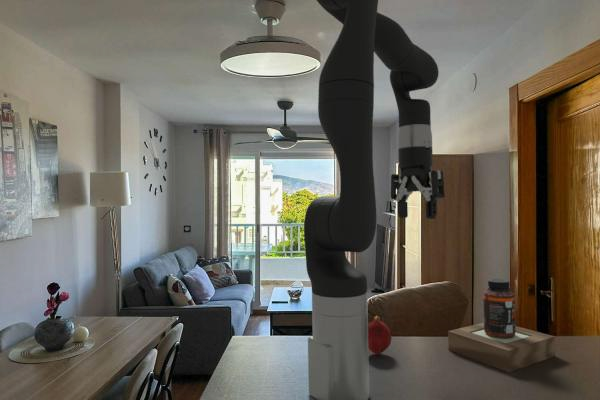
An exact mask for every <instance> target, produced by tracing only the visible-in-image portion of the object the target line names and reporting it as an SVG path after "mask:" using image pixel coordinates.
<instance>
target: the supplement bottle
mask: <svg viewBox="0 0 600 400" xmlns="http://www.w3.org/2000/svg"><path fill="white" fill-rule="evenodd" d="M487 286H488V288H487V289H485V290H483V298H482V300H483V323H484V331H485V333H486V334H488V335H490V336H493V337H498V338H511V337H513V336H515V331H516V329H515V328H516V327H515V326H517V325H516V295H515V293H514V292H513V291H512V290H511V288H510V281H509V280H507V279H502V278H489V279H488V280H487Z"/></svg>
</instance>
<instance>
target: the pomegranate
mask: <svg viewBox="0 0 600 400" xmlns="http://www.w3.org/2000/svg"><path fill="white" fill-rule="evenodd" d="M391 342H392V334H391V331H390V328H389V327H388V326H387V324H386V323H384V322H383V321H381V318H380V316H378V315H376V316H374V319H373V320H372V321H371V322H368V351H370V352H371V353H373V354H375V355H376V356H380V355H381V354H382V353H383V352H385V351H386V350H387V349H388V348H389V347H390V345H391V344H392V343H391Z"/></svg>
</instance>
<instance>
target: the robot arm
mask: <svg viewBox="0 0 600 400" xmlns="http://www.w3.org/2000/svg"><path fill="white" fill-rule="evenodd" d="M316 2H317V3H318V4H319V5H320V6H321V8H322V9H324V10H325V11H326V12H327V13H328V14H330V15H331V16H332V17H333V18H334V19H336V20H337V21H338V22H340V23H341V24H342V27H341V30H340V33H339V35H338V37H337V39H336V40H335V43H334V45H333V46H332V48H331V50H330V52H329V55H328V56H327V58H326V60H325V62H324V64H323V66H322V69H321V71H320V75H319V80H318V97H317V98H318V102H317V103H318V104H317V105H318V106H317V112H318V114H317V115H318V120H319V123H320V125H321V128H322V131H323V132H324V134H325V137H326V138H327V140H328V142H329V144H330V146H331V147H332V150H333V152H334V154H335V156H336V159H337V162H338V167H339V195H323V196H318V197H316V198H315V199H313V200H312V201H310V203H309V205H308V206H307V209H306V212H305V214H304V220H303V221H304V222H303V235H304V236H303V240H304V250H305V263H306V272H307V275H308V279H309V281H310V283H311V319H312V320H311V322H312V323H311V324H312V327H311V328H312V336H309V337H308V338H307V358H308V359H307V360H308V362H307V363H308V364H307V365H308V366H307V367H308V370H307V371H308V395H310V397H312V398H314V399H315V400H368V399H369V398H370V368H369V367H370V365H369V364H370V363H369V362H370V361H369V359H370V357H369V349H368V324H369V321H368V320H369V319H368V317H369V316H368V314H369V313H368V311H369V310H368V309H369V308H368V307H369V305H368V280H367V276H366V274H364V273H363V271H361V270H359V269H357V268H356V267H355V266H354V265H353V264H352V263H351V262H350V261H349V260H348V258H347V256H346V253H362V252H365V251H366V250H367V249H369V248H370V246H371V245H372V243H373V241H374V238H375V235H376V231H377V230H376V229H377V201H376V189H375V176H374V159H373V157H374V156H373V155H374V154H373V153H374V152H373V151H374V150H373V146H374V145H373V131H374V130H373V127H374V126H373V121H374V107H375V106H374V105H375V104H374V100H375V96H374V94H375V90H374V89H375V79H374V77H375V76H374V70H375V69H374V68H375V65H374V63H375V62H374V61H375V55H376V56H377V57H378V59H379V60H380V61H381V62H382V63H383V65H384V66H385V67H386V68H387V69H388V70H390V72H389V82H390V85H391V88H392V91H393V94H394V98H395V101H396V106H397V111H398V134H397V151H398V152H397V157H398V158H397V159H398V163H397V164H398V168H400V170H401V172H400V173H396V174H395V173H392V174H391V175H390V199H392V200H395V201H396V202H397V214H398V217H399V218H400V219H404V218H405V219H406V218H408V217H409V216H408V215H409V214H408V213H409V211H408V210H409V209H408V208H409V207H408V202H407V201H408V199H409V198H410V195H412V194H413V193H414V192H419V193H420V194H421V195H423V197H424V198H425V200H426V201H425V218H426V219H427V220H433V219H436V217H437V214H438V212H437V211H438V210H437V207H438V206H437V202H438V201H439V200H440V199H444V198H445V182H444V179H445V178H444V171H443V170H439V169H438V170H436V169H435V170H431V168H432V166H433V164H434V163H433V162H434V161H433V160H434V159H433V158H434V157H433V133H432V127H431V125H432V124H431V122H432V120H431V104H430V102H429V101H428V100H426V99H421V98H411V95H410V92H415V91H420V90H424V89H428V88H431V87H432V86H434V85H435V83H437V81H438V78H439V67H438V64H437V62H436V60H435V58H434V57H432V55H431V54H429V53H428V51H425V50H424V49H423V48H421V47H419V46H418V45H417V44H415V43H413V41H412V40H411V38H410V37H409V35H408V34H407V33H406V31H405V30H404V28H403V27H402V26H401V25H400V24H399V23H398V22H397V21H396V20H394V19H392V18H390V17H389V16H386V15H384V14H382V13H380V12H378V6H379V0H316Z"/></svg>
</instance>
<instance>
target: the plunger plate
mask: <svg viewBox="0 0 600 400" xmlns="http://www.w3.org/2000/svg"><path fill="white" fill-rule="evenodd" d="M473 333H474V334H477V335H480V336H484V337H487V338H490V339H493V340H497V341H500V342H503V343H509V342H512V341H516V340H519V339H523V338H526V337H529V336H527V335H523V334H520V333H516V332H515V336H513V337H511V338H498V337H493V336H490V335H488V334H486V333H485V331H484V330H480V331H477V332H473Z"/></svg>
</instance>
